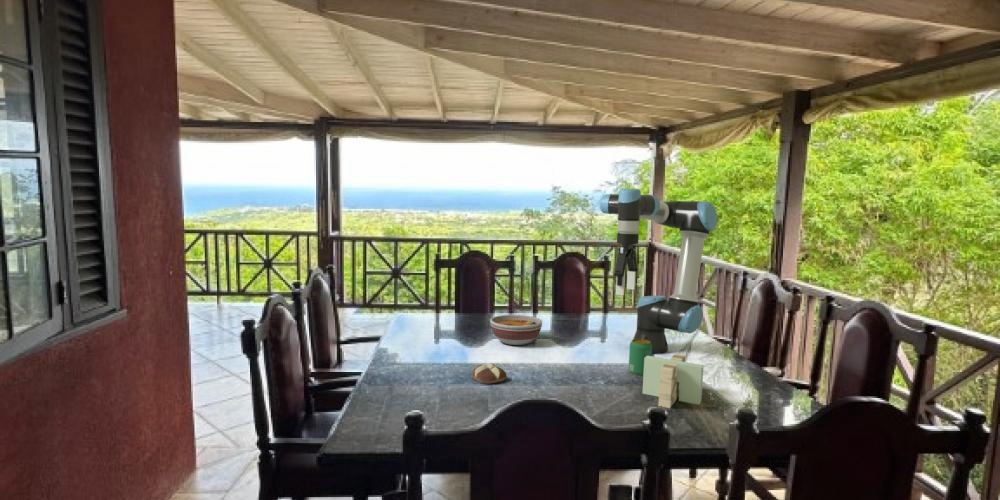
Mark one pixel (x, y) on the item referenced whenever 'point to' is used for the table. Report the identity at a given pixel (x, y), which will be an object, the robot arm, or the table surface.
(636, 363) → the beverage can
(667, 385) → the wooden block structure
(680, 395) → the pale green rectangular block
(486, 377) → the bread
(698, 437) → the table surface
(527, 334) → the bowl
